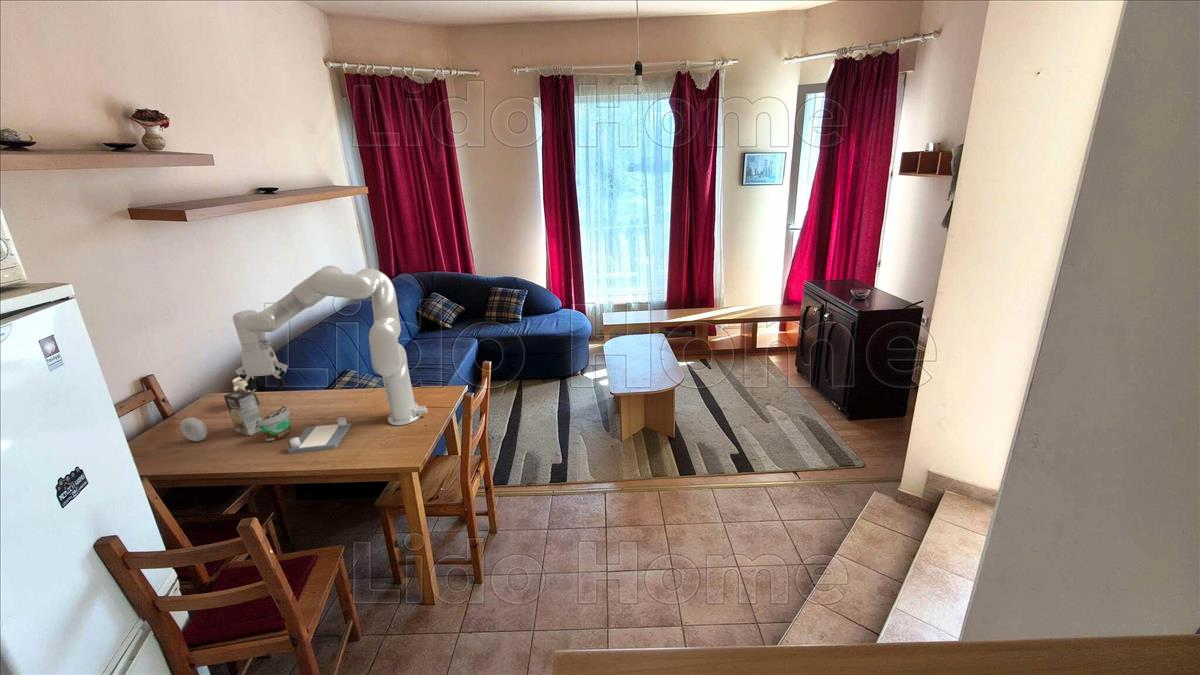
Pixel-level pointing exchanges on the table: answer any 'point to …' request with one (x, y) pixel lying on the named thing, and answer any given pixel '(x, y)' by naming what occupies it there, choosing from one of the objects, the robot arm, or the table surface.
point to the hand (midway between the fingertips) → (267, 388)
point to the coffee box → (243, 411)
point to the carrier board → (319, 437)
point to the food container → (276, 425)
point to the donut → (197, 425)
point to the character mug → (242, 386)
